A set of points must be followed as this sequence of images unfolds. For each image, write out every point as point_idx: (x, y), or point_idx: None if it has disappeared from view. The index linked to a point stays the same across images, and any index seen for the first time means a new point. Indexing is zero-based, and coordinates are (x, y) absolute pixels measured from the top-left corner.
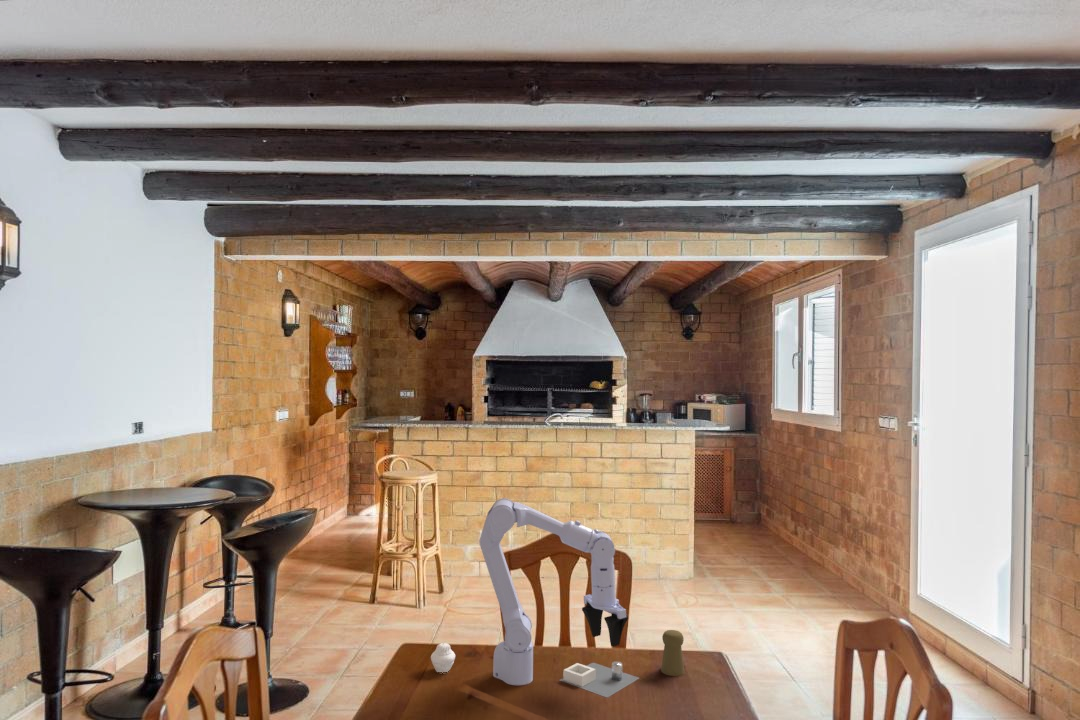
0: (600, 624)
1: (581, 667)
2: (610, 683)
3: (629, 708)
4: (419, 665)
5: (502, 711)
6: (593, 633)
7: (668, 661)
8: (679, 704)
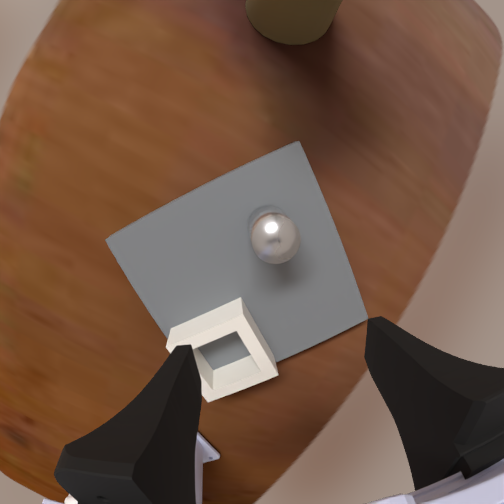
0: (179, 385)
1: (198, 344)
2: (293, 266)
3: (413, 270)
4: None
5: (277, 480)
6: (199, 396)
7: (325, 12)
8: (452, 130)
